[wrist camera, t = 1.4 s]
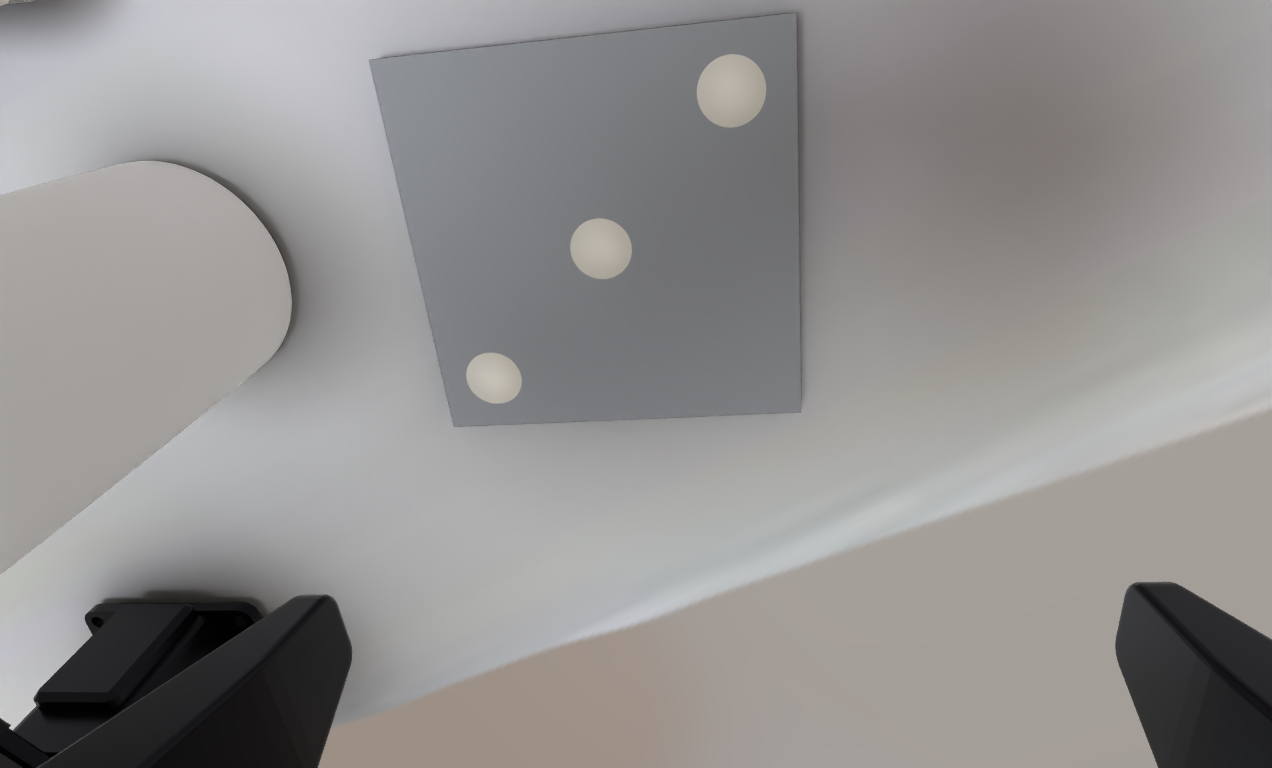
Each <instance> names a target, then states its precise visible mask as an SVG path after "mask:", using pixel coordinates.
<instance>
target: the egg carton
mask: <svg viewBox="0 0 1272 768" xmlns="http://www.w3.org/2000/svg"><path fill="white" fill-rule="evenodd" d="M33 1H37V0H0V6H2V5H5V4H14V3H24V2H33Z"/></svg>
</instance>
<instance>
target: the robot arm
mask: <svg viewBox="0 0 1272 768" xmlns="http://www.w3.org/2000/svg"><path fill="white" fill-rule="evenodd" d="M85 621H86V624H87V625H88V627H89V629H90V631H91V633H92V635H93V636H92V637H91V638H90V639H89V640H88V641H87V642H86V643H85V644H84V645H83V646H82V647H81V648H80V649H79V650H78V651H77V652H76V653H75V654H74V655H73V656H72V657H71V658H70V659H69V660H68V661H67V662H66V663H65V664H64V665H63V666H62V667H61V668H60V669H59V670H58V671H57V672H56V673H55V674H54V675H53V676H52V677H51V678H50V679H49V680H48V681H47V682H46V683H45V684H44V685H43V686H42V687H41V688H40V689H39V690H38V692H37V694H36V695H35V697H34V702H35V703H36V705H37V706H36V707H35V708H34V709H33V710H32V711H31V712H30V713H29V714H28V715H27V716H26V717H25V718H24V719H23V720H22V721H21V723H20V724H19V725H18V726H17V727H16V728H15V729H14V730H13V731H12V730H10V729H9V727H10V726H11V725H10V724H8V723H7V722H5V721H4V720H2V719H1V718H0V768H318V765H319V762H320V759H321V755H322V753H323V750H324V747H325V744H326V740H327V737H328V734H329V731H330V728H331V725H332V722H333V719H334V716H335V713H336V709H337V706H338V703H339V700H340V697H341V694H342V691H343V688H344V685H345V681H346V678H347V675H348V672H349V669H350V665H351V660H352V646H351V642H350V639H349V636H348V633H347V631H346V628H345V625H344V622H343V619H342V616H341V613H340V610H339V608H338V605H337V603H336V601H335V600H334V598H333V597H331V596H329V595H300V596H297V597H294V598H293V599H291V600H290V601H288V602H287V603H285V604H284V605H282V606H281V607H279V608H278V609H276V610H275V611H273V612H272V613H270V614H268V615H267V616H265V617H264V618H261V615H260V613H259V611H258V610H257V609H256V608H255V607H254V606H253V605H250V604H248V603H243V602H225V603H131V604H97V605H96V606H94V607H93V608H92V609H91V610H90V611H89V612H88V613H87V614H86V615H85ZM1115 648H1116V656H1117V660H1118V663H1119V666H1120V669H1121V671H1122V674H1123V677H1124V679H1125V682H1126V685H1127V687H1128V690H1129V693H1130V695H1131V698H1132V700H1133V703H1134V706H1135V708H1136V711H1137V713H1138V716H1139V718H1140V721H1141V724H1142V727H1143V729H1144V731H1145V734H1146V737H1147V740H1148V742H1149V745H1150V747H1151V750H1152V753H1153V755H1154V758H1155V761H1156V763H1157V766H1158V768H1272V639H1270V638H1268V637H1267V636H1265V635H1263V634H1262V633H1260V632H1258V631H1257V630H1255V629H1253V628H1252V627H1250V626H1248V625H1247V624H1245V623H1243V622H1241V621H1240V620H1238V619H1236V618H1235V617H1233V616H1231V615H1230V614H1228V613H1226V612H1224V611H1223V610H1221V609H1219V608H1218V607H1216V606H1214V605H1213V604H1211V603H1209V602H1207V601H1206V600H1204V599H1203V598H1201V597H1199V596H1197V595H1196V594H1194V593H1192V592H1191V591H1189V590H1187V589H1185V588H1184V587H1182V586H1180V585H1178V584H1176V583H1172V582H1137V583H1133V584H1131V585H1130V586H1129V588H1128V589H1127V591H1126V594H1125V597H1124V602H1123V607H1122V612H1121V616H1120V621H1119V626H1118V631H1117V635H1116V644H1115Z"/></svg>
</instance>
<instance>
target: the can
mask: <svg viewBox="0 0 1272 768" xmlns="http://www.w3.org/2000/svg"><path fill="white" fill-rule="evenodd" d="M291 309H292V296H291V287H290V282H289V277H288V273H287V270H286V267H285V264H284V261H283V259H282V256H281V254H280V252H279V250H278V248H277V246H276V244H275V242H274V240H273V239H272V237H271V235H270V234H269V232H268V231H267V229H266V228H265V226H264V225H263V224H262V223H261V221H260V220H259V219H258V218H257V216H256V215H255V214H254V213H253V212H252V211H251V210H250V209H249V208H248V207H247V206H246V205H245V204H244V203H243V202H242V201H241V200H240V199H239V198H238V197H236V196H235V195H234V194H233V193H232V192H230V191H229V190H228V189H226V188H225V187H223V186H222V185H220V184H219V183H217V182H216V181H214V180H212V179H210V178H209V177H207V176H205V175H203V174H201V173H198V172H196V171H194V170H191V169H189V168H186V167H183V166H179V165H176V164H171V163H166V162H160V161H135V162H128V163H122V164H118V165H114V166H109V167H105V168H101V169H98V170H94V171H90V172H86V173H82V174H78V175H74V176H70V177H67V178H63V179H59V180H55V181H52V182H48V183H44V184H40V185H36V186H33V187H29V188H25V189H21V190H18V191H14V192H10V193H7V194H3V195H0V574H2V573H3V572H4V571H6V570H7V569H8V568H10V567H11V566H12V565H13V564H15V563H16V562H17V561H19V560H20V559H21V558H22V557H24V556H25V555H26V554H28V553H29V552H30V551H31V550H33V549H34V548H35V547H36V546H38V545H39V544H40V543H42V542H43V541H44V540H45V539H47V538H48V537H49V536H51V535H52V534H53V533H54V532H56V531H57V530H58V529H59V528H61V527H62V526H63V525H64V524H66V523H67V522H68V521H70V520H71V519H72V518H73V517H75V516H76V515H77V514H78V513H80V512H81V511H82V510H83V509H85V508H86V507H87V506H89V505H90V504H91V503H92V502H94V501H95V500H96V499H97V498H99V497H100V496H101V495H102V494H104V493H105V492H106V491H107V490H109V489H110V488H111V487H113V486H114V485H115V484H116V483H118V482H119V481H120V480H121V479H123V478H124V477H125V476H126V475H128V474H129V473H130V472H131V471H133V470H134V469H135V468H136V467H138V466H139V465H140V464H141V463H143V462H144V461H145V460H146V459H148V458H149V457H150V456H152V455H153V454H154V453H155V452H157V451H158V450H159V449H160V448H162V447H163V446H164V445H165V444H167V443H168V442H169V441H170V440H172V439H173V438H174V437H175V436H177V435H178V434H179V433H180V432H182V431H183V430H184V429H185V428H187V427H188V426H189V425H190V424H192V423H193V422H194V421H195V420H197V419H198V418H199V417H200V416H202V415H203V414H204V413H205V412H207V411H208V410H209V409H210V408H212V407H213V406H214V405H215V404H217V403H218V402H219V401H220V400H222V399H223V398H224V397H225V396H227V395H228V394H229V393H230V392H232V391H233V390H234V389H235V388H236V387H238V386H239V385H240V384H241V383H243V382H244V381H245V380H246V379H247V378H249V377H250V376H251V375H252V374H254V373H255V372H256V371H257V370H258V369H259V368H261V367H262V366H263V365H264V364H265V363H266V362H267V361H268V360H269V359H270V358H271V357H272V356H273V355H274V354H275V353H276V351H277V350H278V349H279V347H280V345H281V344H282V342H283V340H284V338H285V336H286V333H287V330H288V327H289V323H290V318H291Z"/></svg>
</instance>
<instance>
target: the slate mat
mask: <svg viewBox="0 0 1272 768" xmlns="http://www.w3.org/2000/svg"><path fill="white" fill-rule="evenodd" d="M369 63H370V67H371V72H372V76H373V80H374V85H375V89H376V93H377V98H378V102H379V106H380V111H381V115H382V119H383V123H384V128H385V132H386V136H387V141H388V145H389V149H390V154H391V158H392V162H393V167H394V171H395V175H396V180H397V184H398V188H399V192H400V197H401V201H402V205H403V210H404V214H405V218H406V223H407V227H408V231H409V236H410V240H411V244H412V248H413V253H414V257H415V261H416V266H417V270H418V274H419V279H420V283H421V287H422V292H423V296H424V300H425V305H426V309H427V313H428V317H429V322H430V326H431V330H432V335H433V339H434V343H435V348H436V352H437V356H438V361H439V365H440V369H441V373H442V378H443V382H444V386H445V391H446V395H447V399H448V404H449V408H450V412H451V417H452V421H453V425H454V427H465V426H489V425H513V424H537V423H560V422H584V421H608V420H632V419H656V418H680V417H704V416H727V415H751V414H775V413H799V412H801V348H800V266H799V184H798V102H797V20H796V13H785V14H776V15H767V16H758V17H749V18H740V19H731V20H722V21H713V22H704V23H695V24H686V25H677V26H667V27H658V28H649V29H640V30H631V31H622V32H613V33H604V34H595V35H586V36H577V37H568V38H559V39H550V40H540V41H531V42H522V43H513V44H504V45H495V46H486V47H477V48H468V49H459V50H450V51H441V52H432V53H423V54H413V55H404V56H395V57H386V58H378V59H372V60H369Z"/></svg>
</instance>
